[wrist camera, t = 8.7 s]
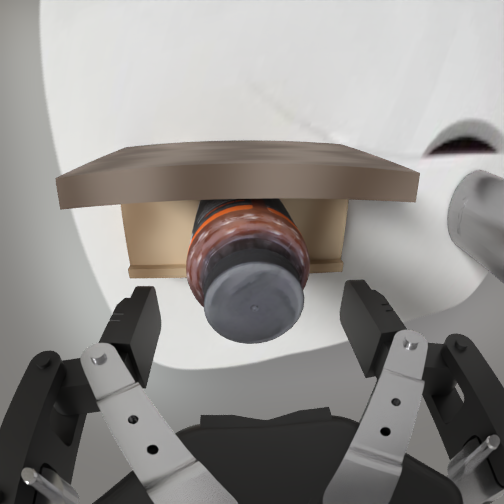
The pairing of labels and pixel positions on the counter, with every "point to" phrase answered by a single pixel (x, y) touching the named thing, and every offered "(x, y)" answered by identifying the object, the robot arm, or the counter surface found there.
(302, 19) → the counter surface
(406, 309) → the counter surface
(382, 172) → the cleat board
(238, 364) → the counter surface
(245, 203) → the supplement bottle
